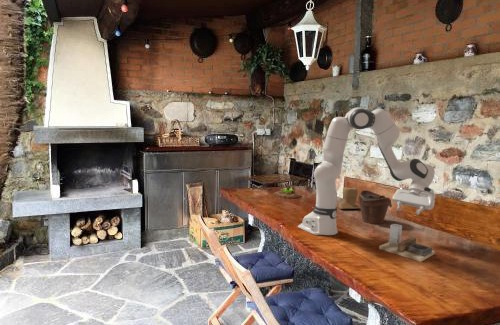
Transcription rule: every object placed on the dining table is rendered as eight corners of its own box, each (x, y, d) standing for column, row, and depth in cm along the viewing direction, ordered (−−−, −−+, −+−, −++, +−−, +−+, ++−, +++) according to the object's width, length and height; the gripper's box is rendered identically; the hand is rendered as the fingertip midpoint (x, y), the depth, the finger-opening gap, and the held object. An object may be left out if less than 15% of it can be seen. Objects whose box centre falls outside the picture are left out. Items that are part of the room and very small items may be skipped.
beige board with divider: (379, 248, 175) (380, 237, 175) (393, 242, 185) (394, 232, 185) (420, 261, 160) (422, 250, 160) (434, 254, 170) (435, 242, 170)
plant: (287, 192, 303) (287, 179, 302) (304, 196, 289) (305, 183, 287) (269, 195, 291) (270, 181, 289) (287, 199, 276) (287, 185, 274)
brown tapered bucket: (391, 227, 212) (393, 197, 210) (355, 223, 218) (357, 194, 216) (389, 219, 229) (392, 191, 226) (357, 215, 235) (359, 188, 233)
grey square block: (388, 244, 177) (390, 225, 176) (392, 242, 180) (394, 223, 179) (396, 246, 174) (398, 227, 173) (400, 245, 177) (402, 225, 176)
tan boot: (353, 206, 261) (355, 185, 259) (361, 210, 250) (363, 189, 248) (334, 206, 258) (335, 186, 256) (341, 210, 247) (342, 189, 245)
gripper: (396, 183, 194) (386, 204, 189) (436, 190, 179) (426, 212, 174) (399, 191, 198) (389, 211, 192) (439, 198, 183) (429, 219, 177)
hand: (407, 211), depth 183 cm, fingers open, 8 cm apart
